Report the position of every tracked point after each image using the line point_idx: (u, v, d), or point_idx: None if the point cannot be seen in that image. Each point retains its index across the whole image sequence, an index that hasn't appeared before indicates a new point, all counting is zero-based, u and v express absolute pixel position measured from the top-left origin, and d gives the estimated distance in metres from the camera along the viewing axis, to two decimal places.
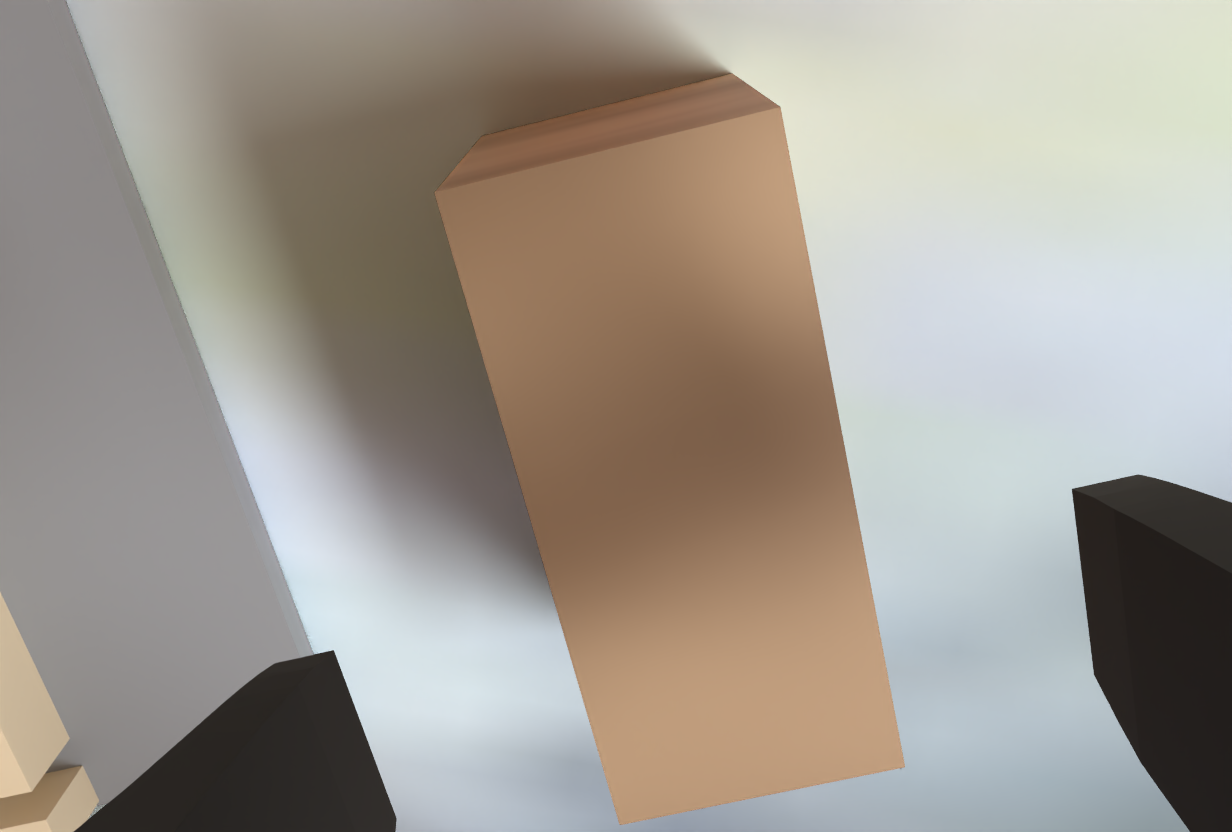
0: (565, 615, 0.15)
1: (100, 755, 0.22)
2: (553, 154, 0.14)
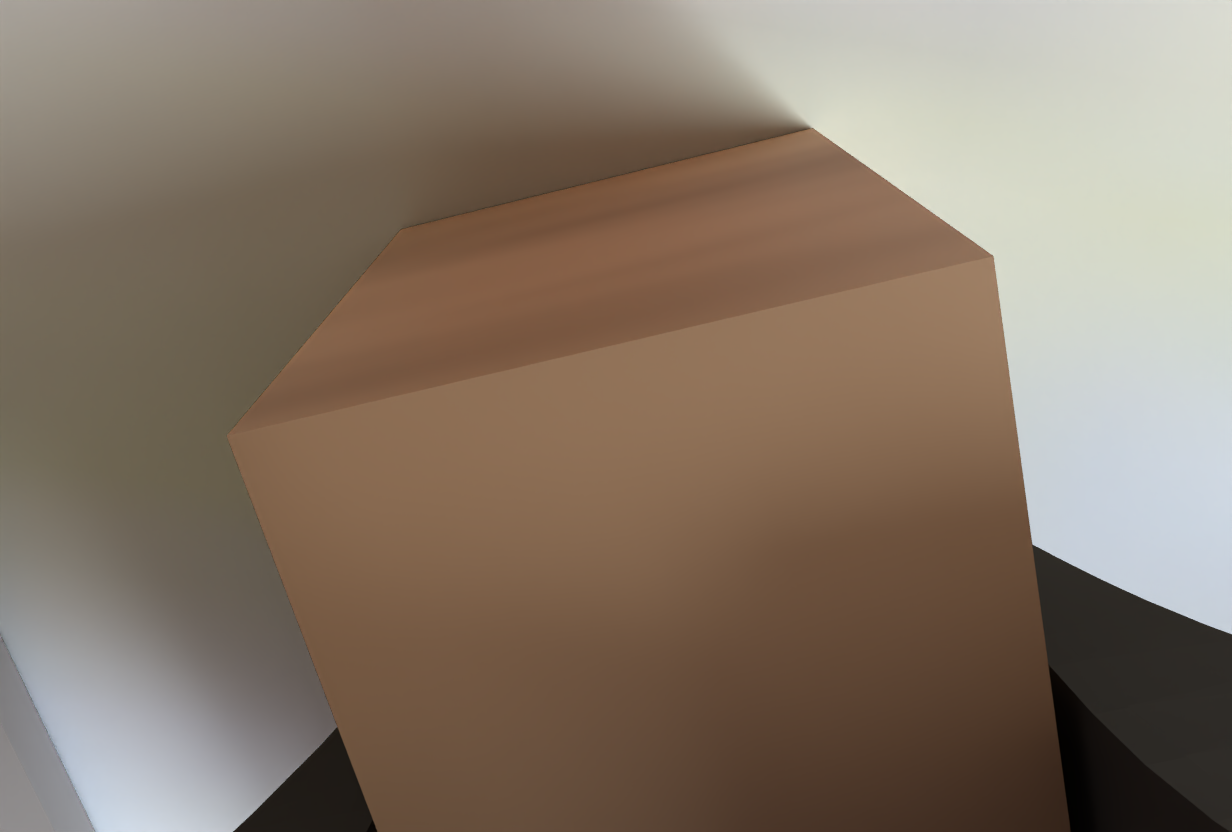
0: None
1: None
2: (494, 332, 0.07)
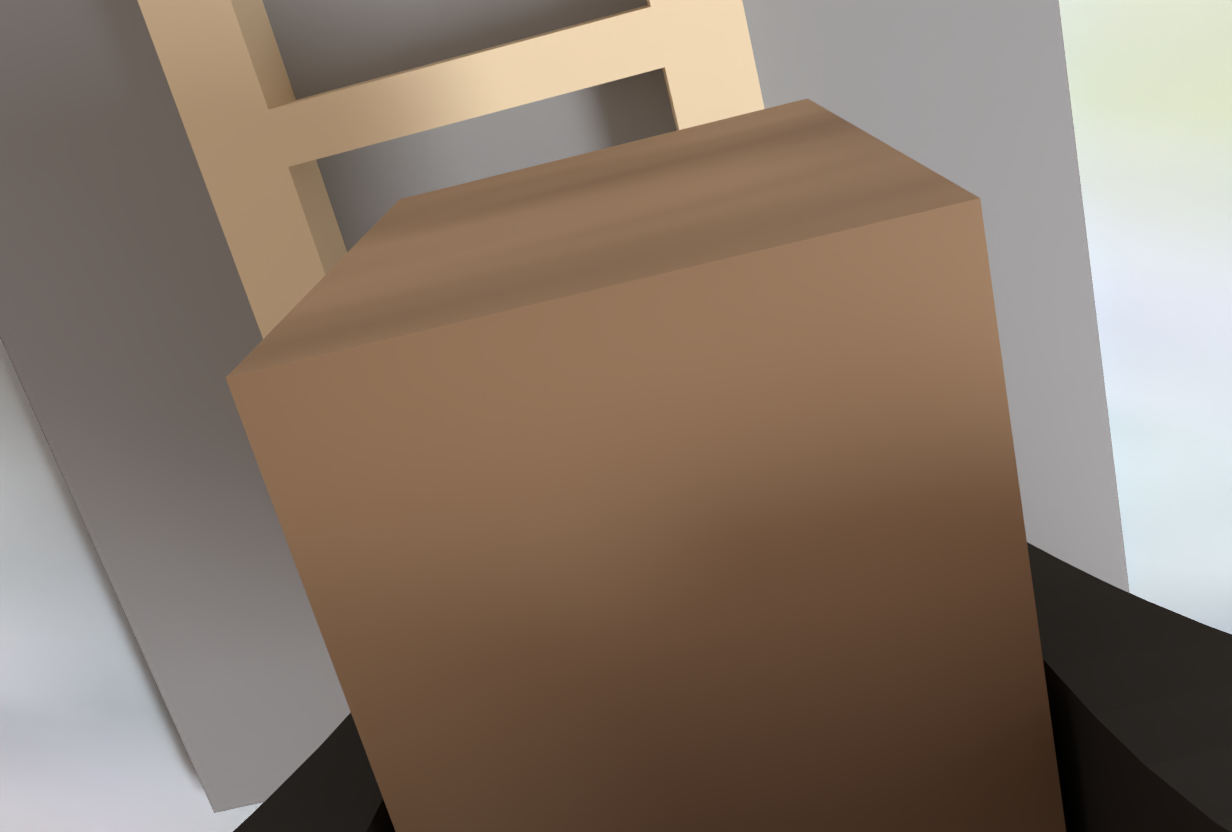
0: None
1: None
2: (489, 281, 0.07)
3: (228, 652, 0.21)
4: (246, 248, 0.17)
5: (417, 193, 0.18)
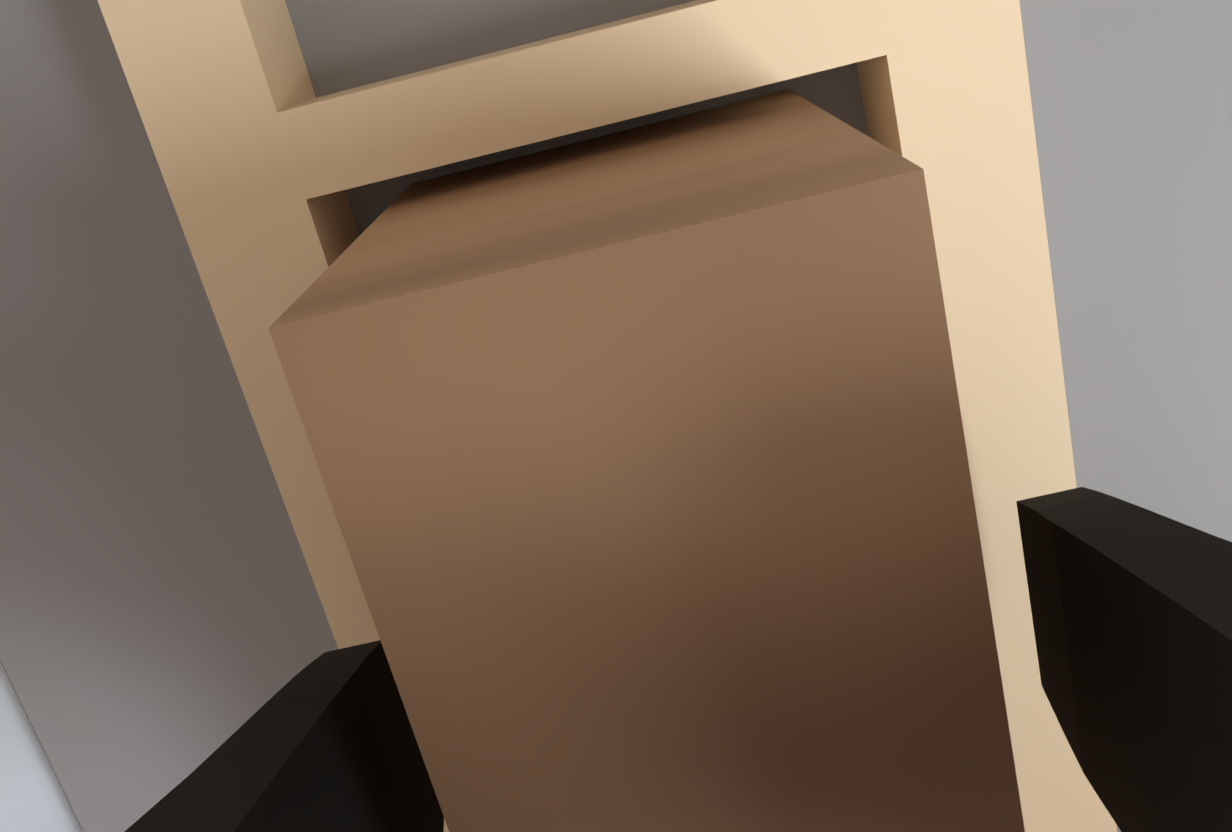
0: None
1: None
2: (498, 247, 0.08)
3: None
4: (241, 319, 0.11)
5: None
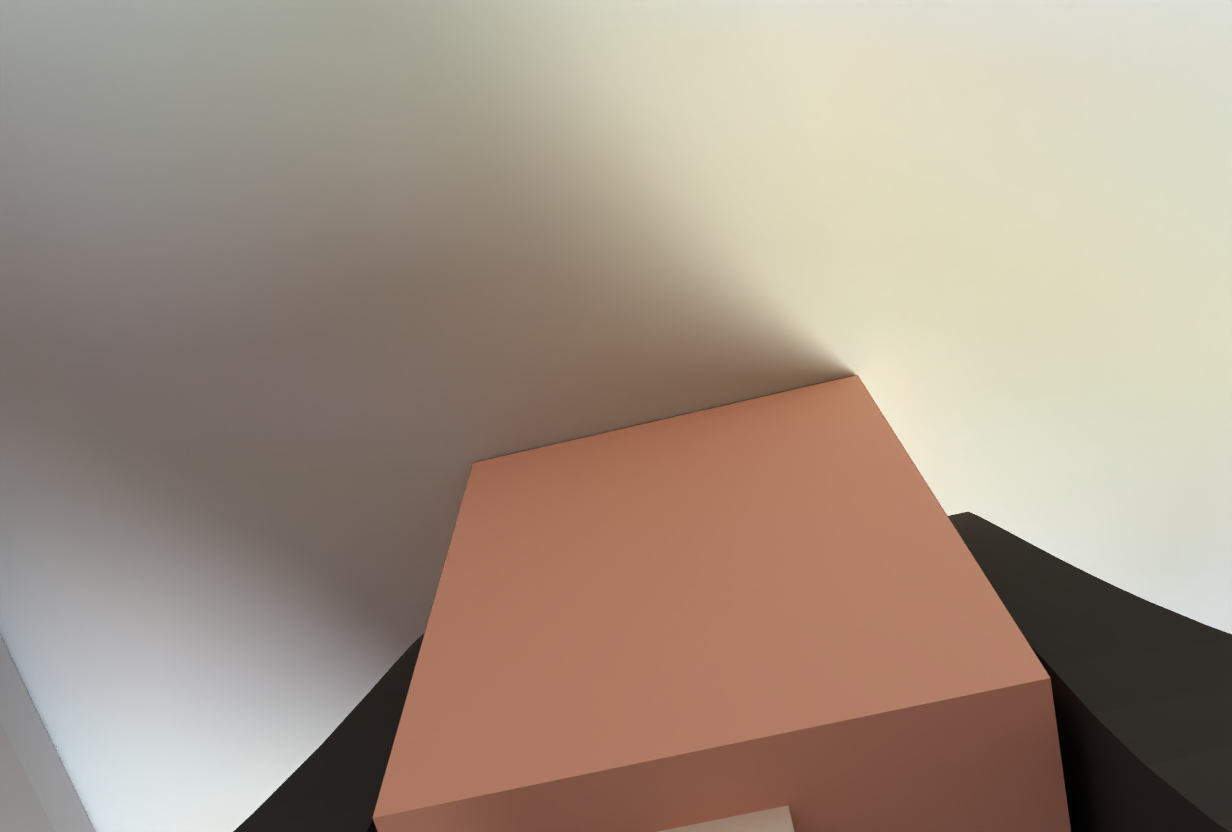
0: None
1: None
2: None
3: None
4: None
5: None
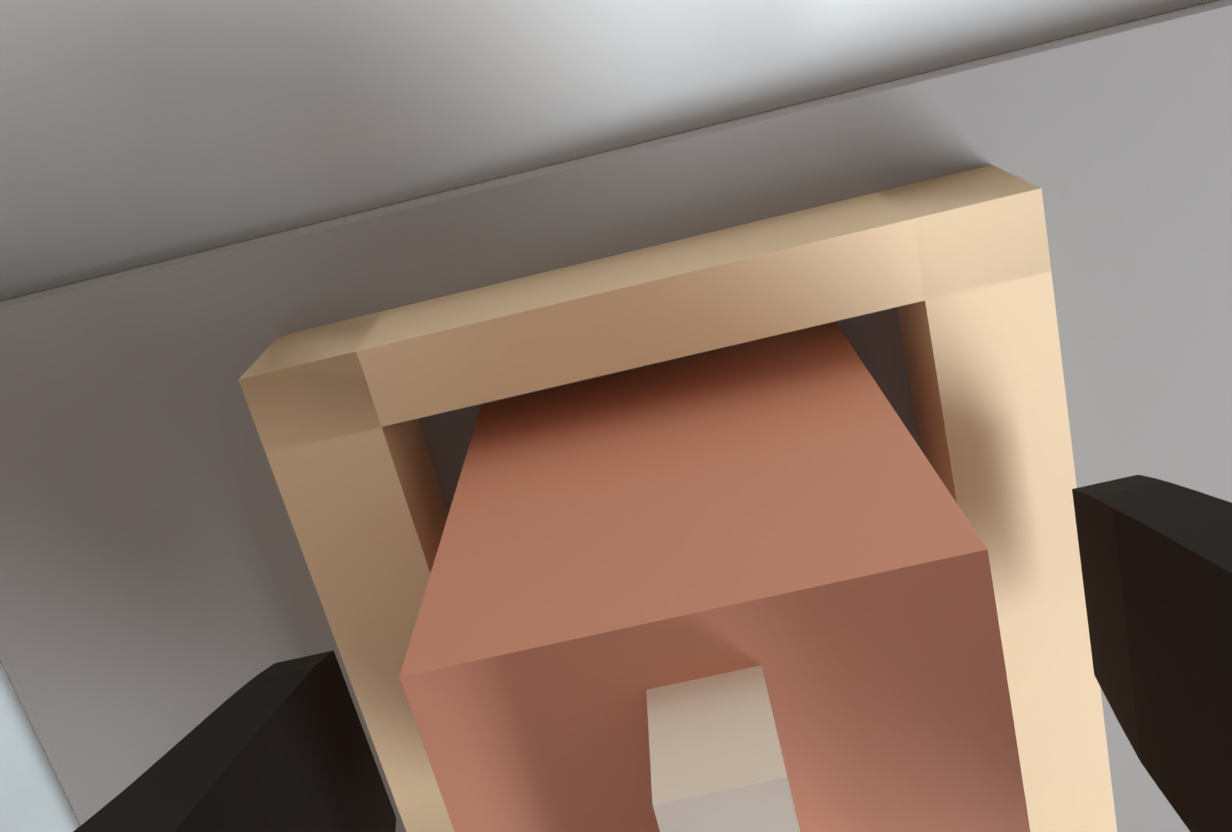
0: None
1: None
2: None
3: None
4: None
5: None
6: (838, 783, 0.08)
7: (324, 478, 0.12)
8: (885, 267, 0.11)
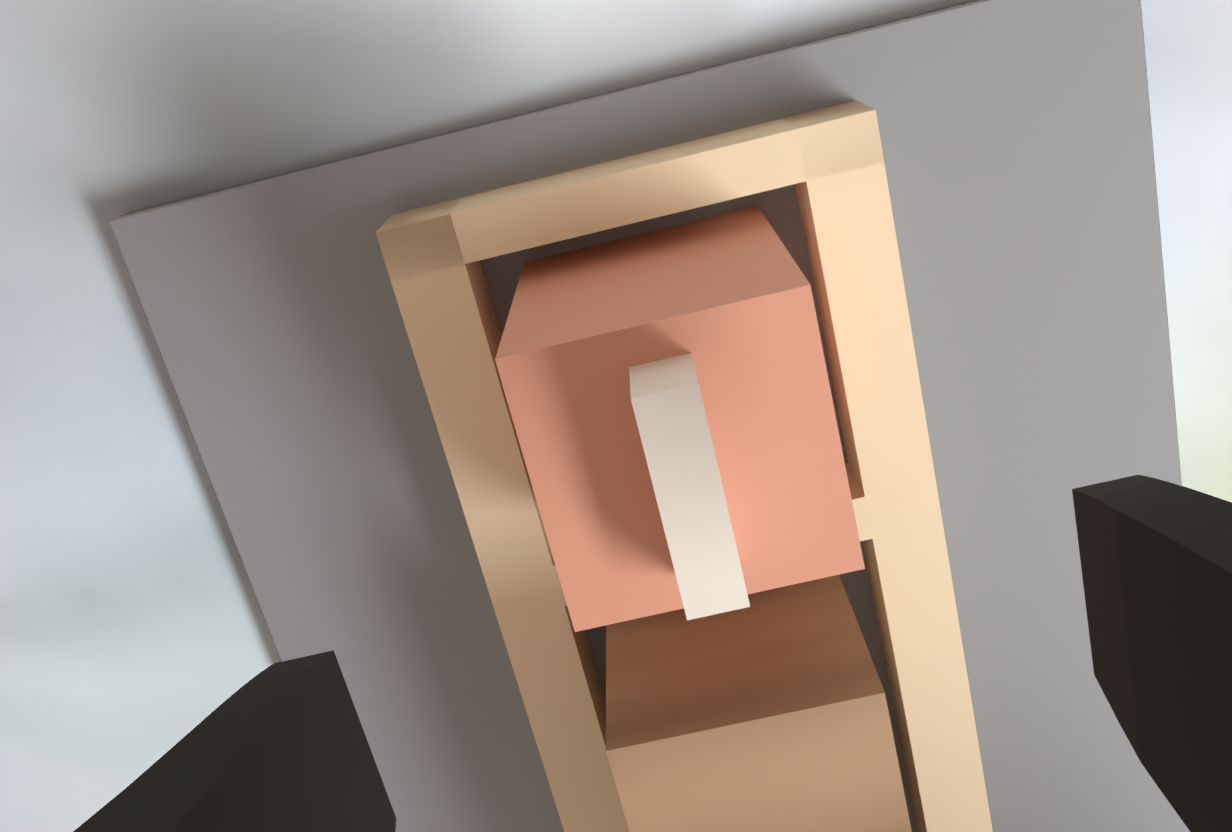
0: None
1: None
2: (695, 698, 0.17)
3: None
4: (524, 663, 0.21)
5: None
6: (735, 425, 0.15)
7: (427, 298, 0.19)
8: (781, 160, 0.18)
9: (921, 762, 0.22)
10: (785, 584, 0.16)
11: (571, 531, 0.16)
